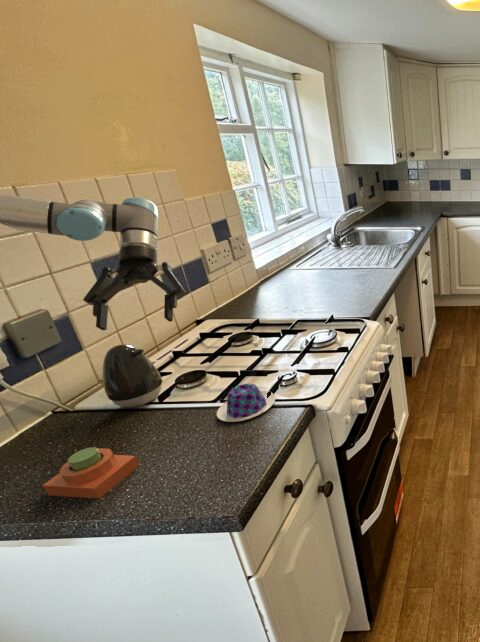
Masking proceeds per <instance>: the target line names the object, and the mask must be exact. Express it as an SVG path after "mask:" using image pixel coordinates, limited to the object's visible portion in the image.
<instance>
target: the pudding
mask: <svg viewBox="0 0 480 642" xmlns="http://www.w3.org/2000/svg"><path fill="white" fill-rule="evenodd" d="M268 392H269V391H267V390H260V389H259V387H258V386H257V385H256V384H254V383H244V384H239V385H237V386H235V387H232V388H231V389H230V390H229V391H228V393H227V396H226V401H225V402H224V403H222V405H221V406H219V408H218V409H217V411H216V417H217V419H218V420H220V421H222V422H227V423H229V422H230V423H231V422H232V423H234V422H242V421H245V420H246V421H247V420H250V419H253V418H255V417H257V416H259V415H261V414H263V413H265V412H266V411H268V410H269V409H270V408H271V407H272V406H273V405H274V404H275V402H276V395H275V394H274V393H273V392H271V395H270V396H269V397H268V398H267V393H268Z"/></svg>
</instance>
